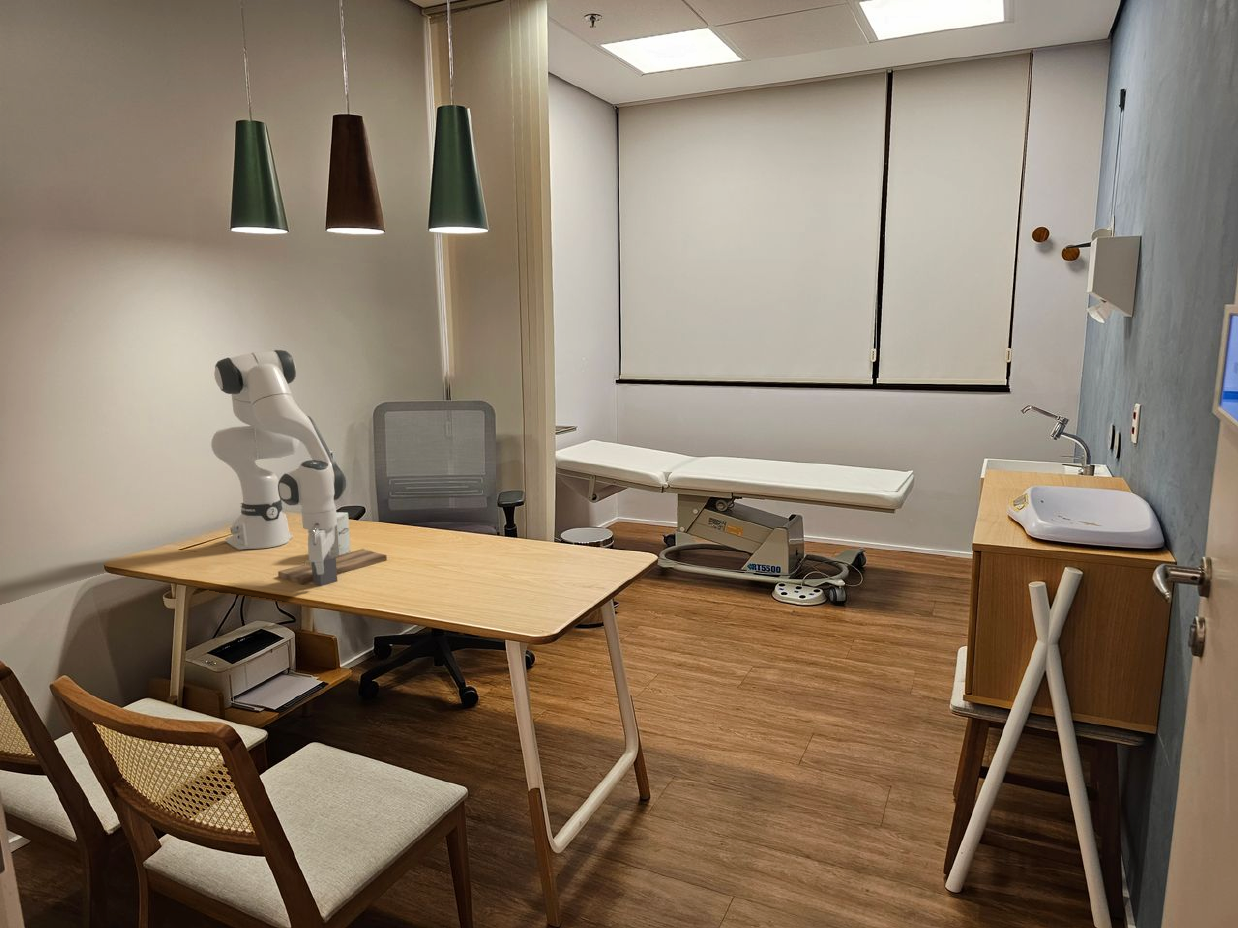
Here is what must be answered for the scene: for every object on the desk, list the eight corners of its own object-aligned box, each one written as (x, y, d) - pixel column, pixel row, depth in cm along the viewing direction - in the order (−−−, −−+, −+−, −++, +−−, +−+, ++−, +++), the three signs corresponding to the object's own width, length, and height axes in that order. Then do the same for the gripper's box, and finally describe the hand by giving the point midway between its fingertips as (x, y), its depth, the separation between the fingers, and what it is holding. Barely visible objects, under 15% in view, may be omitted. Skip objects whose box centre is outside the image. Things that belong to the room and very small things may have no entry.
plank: (278, 576, 230) (277, 571, 229) (362, 553, 251) (362, 548, 251) (301, 584, 222) (301, 578, 222) (386, 560, 244) (386, 554, 244)
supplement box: (339, 557, 248) (336, 517, 246) (317, 556, 249) (314, 516, 247) (351, 551, 255) (348, 512, 253) (330, 550, 256) (327, 511, 254)
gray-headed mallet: (301, 579, 227) (299, 555, 226) (317, 575, 231) (315, 551, 230) (321, 586, 221) (319, 561, 220) (337, 581, 225) (335, 557, 224)
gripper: (325, 528, 211) (329, 579, 214) (337, 511, 231) (340, 558, 234) (300, 529, 210) (304, 580, 213) (313, 512, 230) (317, 559, 232)
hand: (323, 568), depth 223 cm, fingers open, 8 cm apart
